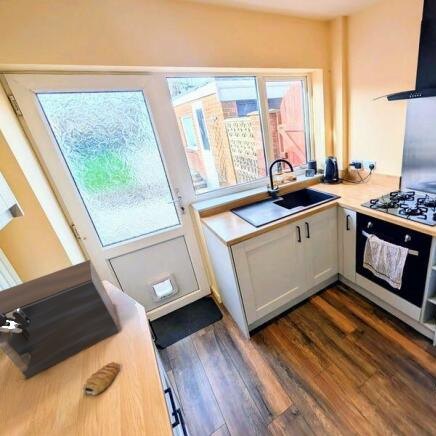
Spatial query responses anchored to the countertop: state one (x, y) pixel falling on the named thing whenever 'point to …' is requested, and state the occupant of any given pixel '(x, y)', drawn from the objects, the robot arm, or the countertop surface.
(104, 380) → the pastry
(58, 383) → the countertop surface
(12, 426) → the countertop surface
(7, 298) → the cupboard
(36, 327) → the door
